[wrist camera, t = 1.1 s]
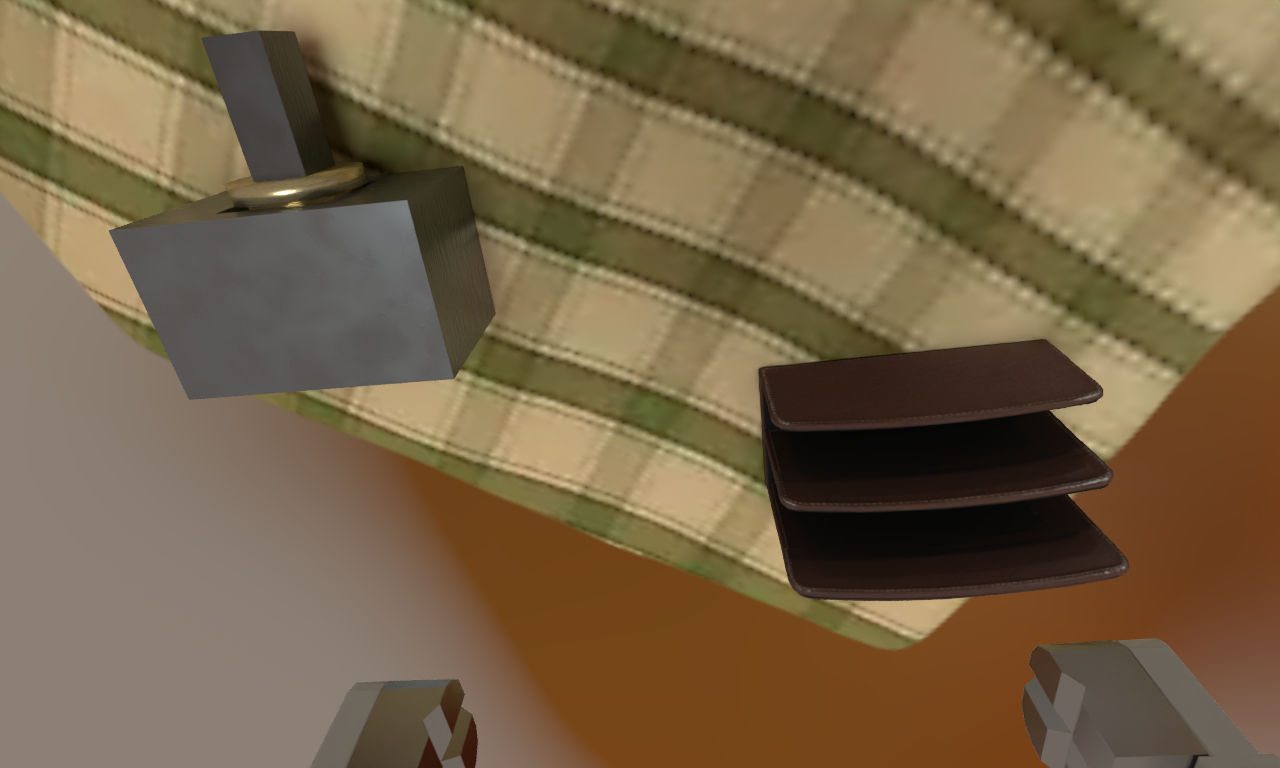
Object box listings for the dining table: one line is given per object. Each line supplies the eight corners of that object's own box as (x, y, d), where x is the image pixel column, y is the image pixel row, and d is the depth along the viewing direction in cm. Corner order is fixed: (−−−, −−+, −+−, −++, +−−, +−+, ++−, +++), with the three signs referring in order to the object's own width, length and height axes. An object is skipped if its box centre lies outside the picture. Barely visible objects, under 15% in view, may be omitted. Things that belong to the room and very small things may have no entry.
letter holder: (1027, 456, 50) (1146, 594, 38) (763, 478, 52) (793, 617, 39) (1046, 336, 46) (1189, 447, 33) (757, 365, 47) (788, 481, 35)
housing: (224, 191, 43) (108, 230, 34) (462, 166, 42) (406, 199, 33) (278, 332, 47) (189, 399, 39) (495, 314, 46) (454, 378, 37)
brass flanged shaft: (225, 42, 38) (135, 42, 31) (346, 27, 37) (279, 24, 31) (313, 294, 45) (254, 337, 38) (416, 285, 44) (373, 326, 38)
